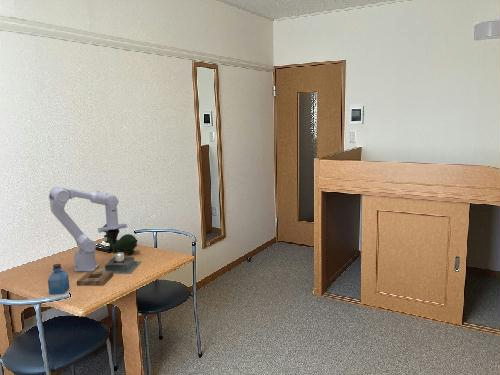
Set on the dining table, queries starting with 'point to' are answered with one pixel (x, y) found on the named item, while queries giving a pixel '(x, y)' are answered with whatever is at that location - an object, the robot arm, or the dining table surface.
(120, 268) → the metal hub block
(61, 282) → the perfume bottle
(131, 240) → the toy figurine
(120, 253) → the steel peg
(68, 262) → the dining table surface
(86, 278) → the walnut stand
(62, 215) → the robot arm
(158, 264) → the dining table surface
